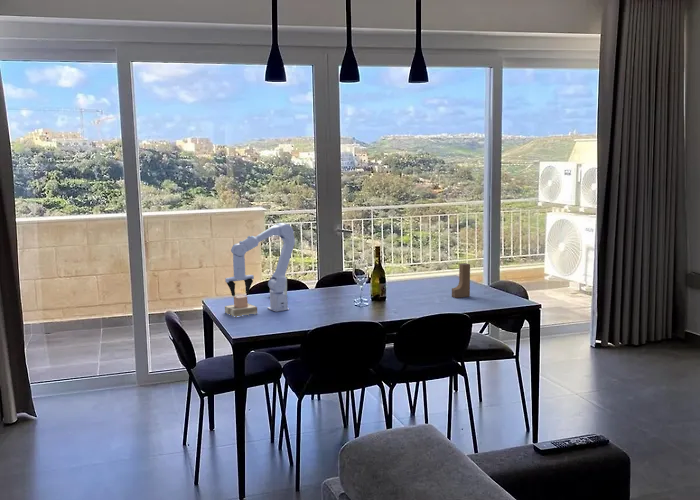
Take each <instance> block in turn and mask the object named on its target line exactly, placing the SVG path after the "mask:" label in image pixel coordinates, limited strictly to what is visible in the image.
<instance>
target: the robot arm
mask: <svg viewBox="0 0 700 500" xmlns="http://www.w3.org/2000/svg"><path fill="white" fill-rule="evenodd" d="M272 236H279V237H280V238H281V240H282V242H283V244H282V248H281V252H280V255H279V257H278V258H279V259H278V261H277V264H276V267H275V270H274V273H273V274H272V276H271V277H272V278H271V279H270V278H269V280H268V282H267V286H268V287H269V301H270V303H269V306H268V307H266V308H267V310H270V311H273V312H283V311H287V310H288V311H289V310H290V308H289V307H288V305H289V304H288V296H287V295H285V294H284V290H285V281H286V278H285V277H286V273H287V269H288V266H289V263H290V260H291V256H292V254H293V253H292V252H293V250H294V246H295V244H296V240H295V235H294V228H293V227H292V226H291V225H290V224H288V223H283V222H277V223H276V224H274V225H272V226H271V227H269V228H267V229H265V230H264V231H262V232H260V233H258V234H257V235H256V236H254V235H251V236H250V235H248V236H247V238H245V239H243V240H242V241H241V240H240V241H238V243H234V244H233V245H232V246H231V249H230V251H231V253H232V264H233V265H232V266H233V267H232V269H233V276H230V277H225V278H224V279H225V283H226V284H227V286H228V288H229V290H230V293H231V296H232V297H234V296H236V283H235V282H239V281H240V282H241V281H244V285H245V287H244V288H245V294H246V295H249V294H250V289H251V286H252V284H253V283H254V280H255V278H254V277H255V276H254V274H246V262H245V261H246V259H245V254H247V252H249V251H250V250H253V249H254V248H257V247H258V245H259V244H260V242H263V241H264V240H267V239H268V238H270V237H272Z"/></svg>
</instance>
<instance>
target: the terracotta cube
mask: <svg viewBox="0 0 700 500" xmlns="http://www.w3.org/2000/svg"><path fill="white" fill-rule="evenodd" d="M248 301H249V300H248V296H246V295H244V294H241V295H235V296H233V305H234V306H235V307H237V308H243V307H248V304H249V303H248Z"/></svg>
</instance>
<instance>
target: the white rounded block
mask: <svg viewBox="0 0 700 500" xmlns="http://www.w3.org/2000/svg"><path fill="white" fill-rule="evenodd" d="M271 278H272V276H270V277H269V280H270V279H271ZM285 278H286V281H285V290H284V294H285V295H286V296H287V295H288V279H287V276H285Z"/></svg>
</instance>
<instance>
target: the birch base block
mask: <svg viewBox="0 0 700 500" xmlns="http://www.w3.org/2000/svg"><path fill="white" fill-rule="evenodd" d="M226 313H227V315H228V314H230V315H229V316H231V315H232V316H231V317H233V316H235V317H236V318H238V317H237V316H242V315H248V316H250V315H249V314H254V315H256V314H255V313H257V314H258V307H257V306H255V305H253V304H251V303H248V307H243V308H237V307H235V306H234V304H230V305H225V306H224V314H226ZM235 317H234V318H235ZM242 317H243V316H242Z"/></svg>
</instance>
